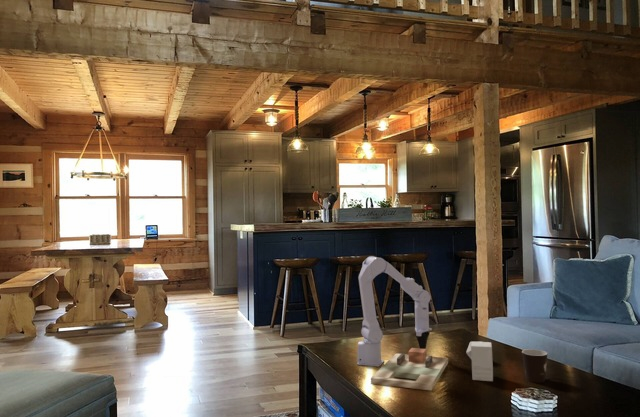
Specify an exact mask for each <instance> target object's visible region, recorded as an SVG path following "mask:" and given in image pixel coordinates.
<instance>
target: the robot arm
mask: <svg viewBox="0 0 640 417" xmlns="http://www.w3.org/2000/svg"><path fill="white" fill-rule="evenodd" d="M361 266H362V267H361V269H360V272H359V274H358V286H359V292H360V300H361V308H362V316H363V320H362V328H361V330H360V333H361V335H362V337H363V340H360V341H358V342H357V352H356V354H357V355H356V356H357V363H356V365H359V366H370V367H380V366H381V365H382V364H383V363H384V362H385V360H383V359H382V349H381V348H382V342H381V341H382V339H383V336H384V333H383V331H382V329H381V327H380V324H379V323H380V322H378V319H377V312H376V305H375V297H374V296H375V295H374V290H373V282H372V281H373V280H374V279H375V278H376V277H377V276H378V275H380V274H382V273H385V274H387V275H388V276H390V277H391V278H392V279H394V280H395V281H396V282H398V283H399V284H400V288H401V289H402V290H403V291H404V292H405V293H406V294H408V295H409V296H410V297H411V299H412V300H413V301H414V320H415V321H414V324H415V327H414V331H415V332H414V336H415V338H416V340H417V344H418V347H419V348H420V349H426V350H427V344H428V339H429V336H430V332H429V331H432V330H433V328H432V327H430V318H429V313H430V311H429V304H430V302H431V298H432V296H431V295H430V292H428V291H427V290H425V289H423V286H422V285H420V284H418V283H416V282H415V280H416V279H414V278H412V277H411V278H410V277H405V276H404V275H403V274H402V273H401V272H399V271H398V269H397V268H395V267H394V266H393V265H392V264H391V263H389V261H386V260H385V259H384V258H382V257H377V256H374V255H369V256H368V257H367V258H365V259H364V261H363V262H362V265H361Z"/></svg>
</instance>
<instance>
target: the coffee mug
mask: <svg viewBox="0 0 640 417" xmlns="http://www.w3.org/2000/svg"><path fill="white" fill-rule="evenodd" d="M521 355H522V363H523V368H524V375H525V376H524V377H525V380H526V381H527V382H530V383H536V384H542V383H545V381H546V373H547V362H548V351H545V350H540V349H531V348H530V349H529V348H528V349H527V348H526V349H523V350H521Z"/></svg>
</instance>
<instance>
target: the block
mask: <svg viewBox="0 0 640 417" xmlns="http://www.w3.org/2000/svg"><path fill="white" fill-rule="evenodd" d="M407 352H408V353H407V354H409V361H410V362H420V363H424V362H425V360H426V359H427V357H426V356H427V348H426V349H420V347H419V348H418V347H417V348H416V347H411V348H410V349H409V350H408V351H407Z"/></svg>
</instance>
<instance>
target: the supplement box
mask: <svg viewBox="0 0 640 417" xmlns="http://www.w3.org/2000/svg"><path fill="white" fill-rule="evenodd" d="M471 342H472V344H471V355H472V360H471V374H472V375H471V376H472V377H471V378H472V381H482V382H485V381H486V382H494V366H493V345H492V342H491V341H490V342H489V341H482V342H478V341H471Z"/></svg>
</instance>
